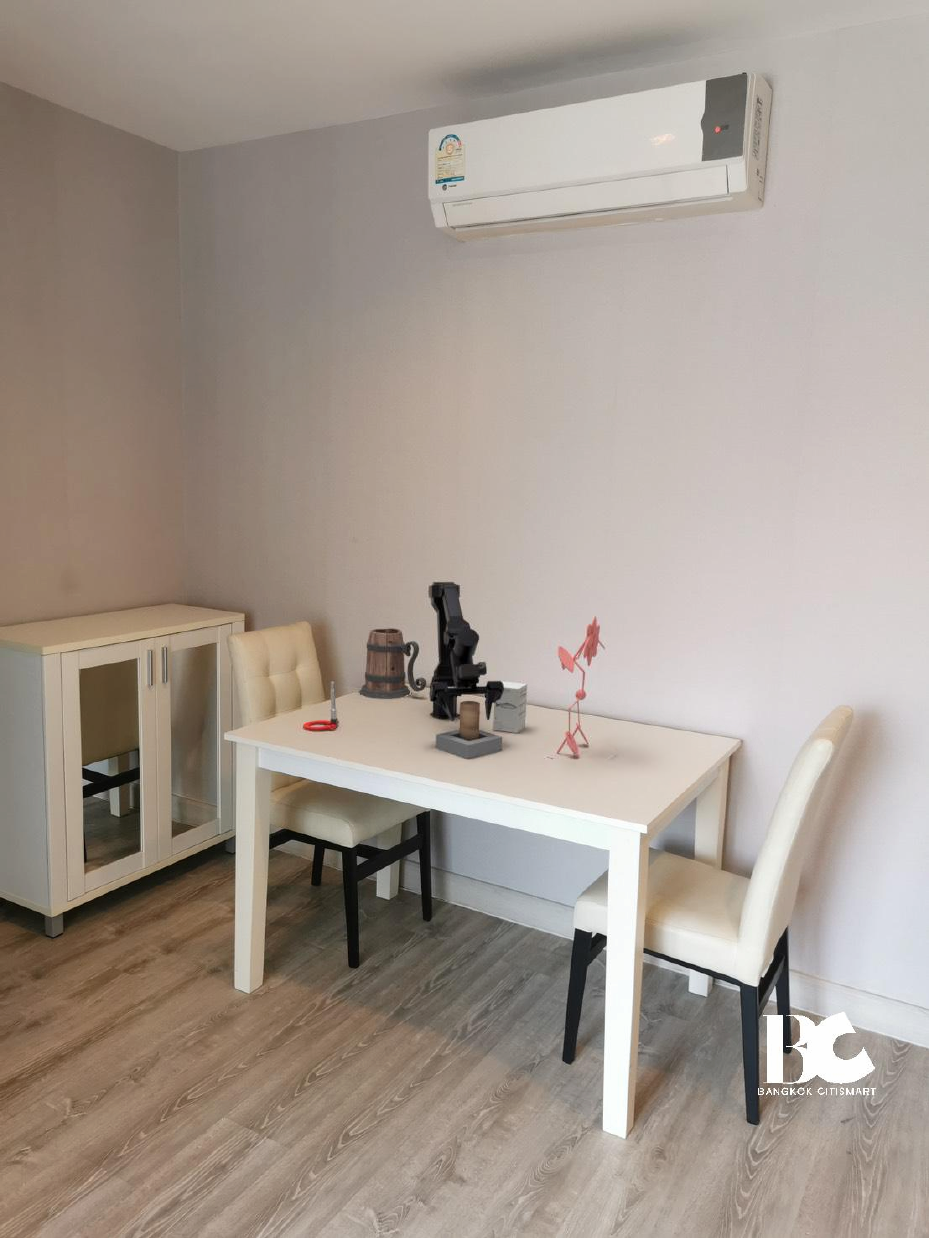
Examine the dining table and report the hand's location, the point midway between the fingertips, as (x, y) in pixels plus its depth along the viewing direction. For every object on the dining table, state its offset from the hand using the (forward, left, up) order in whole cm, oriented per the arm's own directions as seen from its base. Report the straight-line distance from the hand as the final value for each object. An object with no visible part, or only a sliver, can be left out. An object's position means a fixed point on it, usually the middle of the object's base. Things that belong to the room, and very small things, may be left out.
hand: (470, 719), depth 236 cm
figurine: (-23, +20, -8) cm, 31 cm away
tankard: (-23, -59, -8) cm, 64 cm away
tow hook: (+17, -41, -8) cm, 45 cm away
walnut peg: (-1, -1, -8) cm, 8 cm away
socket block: (-1, -1, -8) cm, 8 cm away
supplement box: (-23, -8, -8) cm, 26 cm away
